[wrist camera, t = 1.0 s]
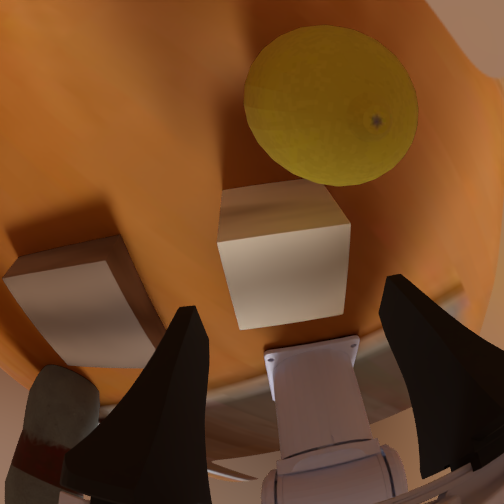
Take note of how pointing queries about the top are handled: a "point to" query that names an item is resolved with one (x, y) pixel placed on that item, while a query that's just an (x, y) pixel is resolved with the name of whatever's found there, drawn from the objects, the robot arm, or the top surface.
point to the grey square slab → (88, 303)
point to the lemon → (331, 105)
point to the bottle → (50, 435)
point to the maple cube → (283, 252)
